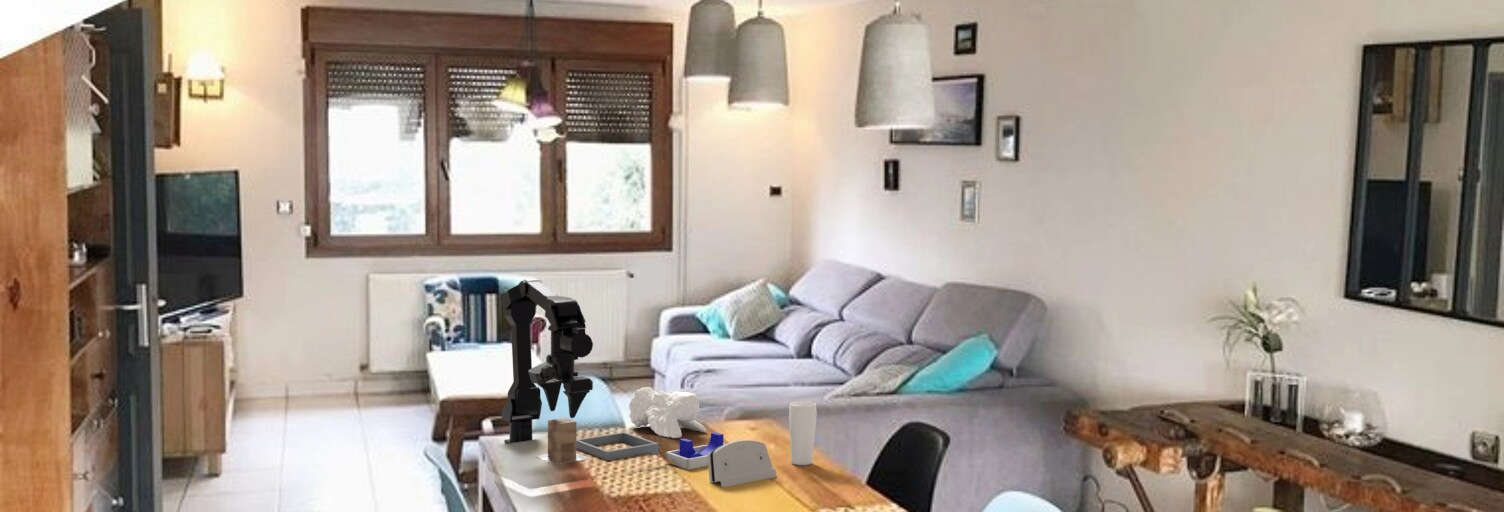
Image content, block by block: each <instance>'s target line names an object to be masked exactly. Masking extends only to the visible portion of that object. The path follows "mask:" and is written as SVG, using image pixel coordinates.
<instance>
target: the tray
mask: <svg viewBox="0 0 1504 512" xmlns="http://www.w3.org/2000/svg"><path fill="white" fill-rule="evenodd" d="M613 443H619V444H620V443H621V444H623V445H626V446H629V447H623V448H619V449H612V450H606V449H604V448H601V447H599V445H600V446H601V445H605V444H613ZM576 450H577V451H581V452H584V453H586V454H589V455H591V456H594V457H597V458H599V459H602V460H604V461H605V460H606V461H612V460H617V459H622V458H628V457H633V456H634V457H635V456H641V455H644V454H645V455H646V454H652V455H654V456H657V457H659V443H658V442H655V441H653V440H649V439H646V438H644V437H640V436H637V435H634V434H633V433H629V432H625V431H623V432H617V433H609V434H604V435H596V436H591V437H586V438H585V437H584V438H576Z"/></svg>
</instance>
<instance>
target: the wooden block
mask: <svg viewBox="0 0 1504 512" xmlns="http://www.w3.org/2000/svg"><path fill="white" fill-rule="evenodd" d="M576 440H577V421H576V420H572V419H571V418H568V417H564V418H563V417H562V418H556V419H549V420H547V454H548V457H550V458H552V459H555V460H558V461H561V460H567V459H573V458H576V453H577V449H576Z"/></svg>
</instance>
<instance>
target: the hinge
mask: <svg viewBox="0 0 1504 512" xmlns="http://www.w3.org/2000/svg"><path fill="white" fill-rule="evenodd" d="M707 467H708V475H709V476H708V477H709V479H708V480H709V483H710V484H712V483H718V482H720V486H721V488H727V487H731V486H736V485H737V486H738V485H742V484H747V483H752V482H757V481H763V480H767V479H768V480H769V479H773V478H777V476H778V475H777V471H776V469H775V467H774V466H773V465H772V461H771V459H770V455H769V453H768V448H767V446H766V443H764V442H760V441H757V440H747V439H744V440H735V441H730V442H727V443H724V445H721V446H719V447H717V448H716V449H714V450H713V451H711V452H710V453H709V454H708V466H707Z"/></svg>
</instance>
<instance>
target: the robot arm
mask: <svg viewBox="0 0 1504 512" xmlns="http://www.w3.org/2000/svg"><path fill="white" fill-rule="evenodd" d="M538 306H539V307H540V308H541V309H543V310H544V317H545V318H546V319H547V321H548V323H549V324H550V325H549V326H548V328H547V329H548V331H550V353H549V354H547V355H546V358H545V362H542V363H540V364H537V365H536V366H534V367H533V364H532V343H531V323H532V322H533V320H534V318H535V315H536V313H537V307H538ZM501 307H502V309H503V310H502V311H503V316H504V318H505V319H506V320H507V322H508V323H509V325H510V330H511V331H510V332H511V333H510V334H511V335H510V337H511V357H512V377H513V382H512V384H511V386H510V387H509V389H508V392H507V399H506V402H505V403H504V406H503V407H502V410H501V413H500V414H501V419H502V420H503V421H504V422H507V423H509V438H508V439H504V440H503V441H504V443H506V444H514V443H515V444H516V443H521V442H527V441H534V439H533V421H534V420H540V417H541V413H542V405H543V402H542V398H541V389H540V388H542V390H543V391H544V394H545V398H546V401H547V404H548V405H547V406H548V407H549V411H550V412H555V411H556V407H557V404H558V400H559V396H560V391H561V387H563V389H564V390H563V391H562V392H563V393H564V395H565V396H566V398H567V402H568V414H569V419H574V418H575V417H576V416H577V413H578V411H579V410H580V407H581V405H582V403H583V401H584V400H585V398H586V396H587V394H589V393H590V391H592V390H593V389H594V381H593V380H592V379H591V378H589V377H586V376H583V375H581V376H579V371H575V367H576V366H575V362H576V360H577V361H578V360H579V358H585V357H587V356H588V355H589V354H591V353H592V350H593V346H594V342H593V340H592V338H591V336H590V335H589V334H587V333H586V328H587V327H586V318H585V316H584V314H583V313H582V310H581V306H580V304H579V303H578V301H577V300H576V299H574V298H572V297H567V296H562V295H559V294H557V293H556V292H554V291H553V290H552V289H551V288H549V287H547V285H545V284H544V283H543V281H542V280H541V279H538V278H533V279H532V278H530V279H529V278H528V279H523V280H521V281H520V282H519V283H518V284H517V285H515V286H513V287H511V288H509V289H508V290H506V292H505V293H504V295H503V296H502V298H501ZM562 384H563V386H562ZM537 386H539V387H537Z"/></svg>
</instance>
